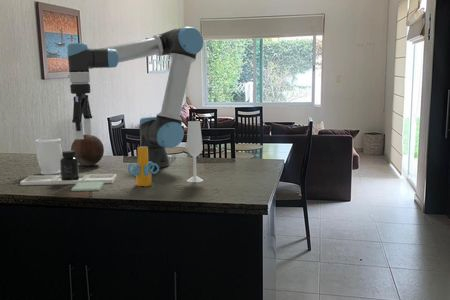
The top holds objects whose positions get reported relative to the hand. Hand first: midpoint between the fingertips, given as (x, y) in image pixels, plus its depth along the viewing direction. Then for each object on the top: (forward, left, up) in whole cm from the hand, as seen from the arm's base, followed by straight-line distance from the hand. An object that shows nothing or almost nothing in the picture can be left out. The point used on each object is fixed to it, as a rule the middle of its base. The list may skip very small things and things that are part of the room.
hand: (84, 136), depth 185 cm
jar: (+19, -17, -18) cm, 31 cm away
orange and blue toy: (-24, +10, -18) cm, 32 cm away
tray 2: (-6, 0, -18) cm, 19 cm away
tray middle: (+6, 0, -18) cm, 19 cm away
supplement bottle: (+6, 0, -18) cm, 19 cm away
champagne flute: (-44, +4, -18) cm, 48 cm away
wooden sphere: (+6, -33, -18) cm, 38 cm away
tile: (-3, +12, -18) cm, 22 cm away
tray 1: (+18, 0, -18) cm, 26 cm away
